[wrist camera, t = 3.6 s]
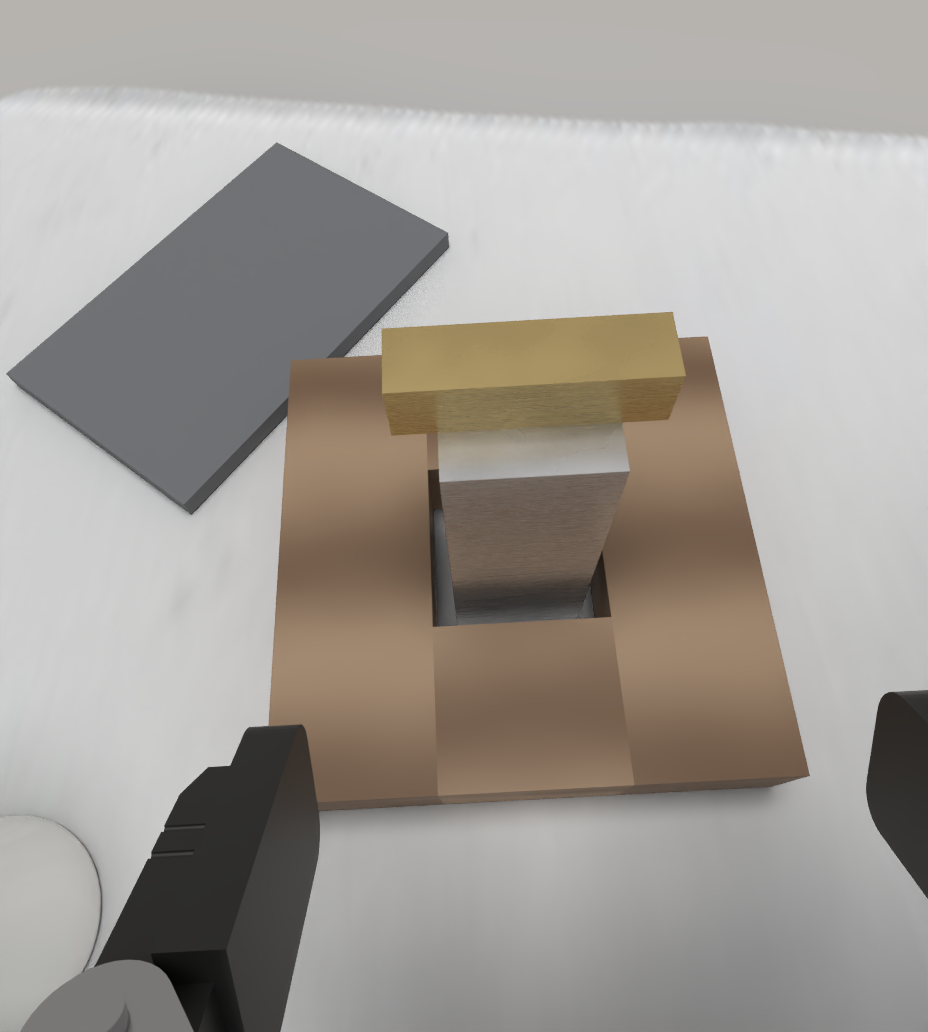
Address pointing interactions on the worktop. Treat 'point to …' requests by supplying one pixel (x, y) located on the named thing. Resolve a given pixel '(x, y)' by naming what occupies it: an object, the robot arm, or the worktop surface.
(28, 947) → the beer glass
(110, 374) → the slate mat
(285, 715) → the socket block
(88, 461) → the worktop surface
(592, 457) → the t key
